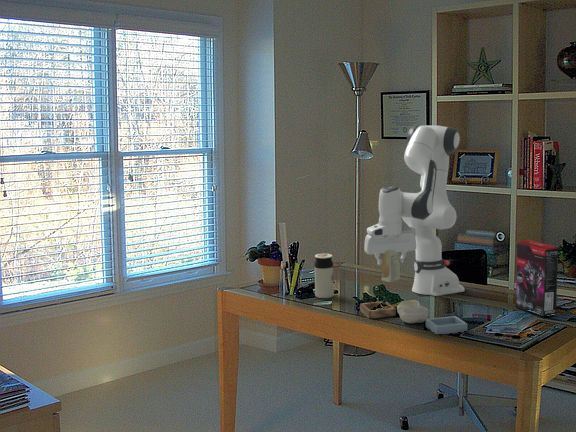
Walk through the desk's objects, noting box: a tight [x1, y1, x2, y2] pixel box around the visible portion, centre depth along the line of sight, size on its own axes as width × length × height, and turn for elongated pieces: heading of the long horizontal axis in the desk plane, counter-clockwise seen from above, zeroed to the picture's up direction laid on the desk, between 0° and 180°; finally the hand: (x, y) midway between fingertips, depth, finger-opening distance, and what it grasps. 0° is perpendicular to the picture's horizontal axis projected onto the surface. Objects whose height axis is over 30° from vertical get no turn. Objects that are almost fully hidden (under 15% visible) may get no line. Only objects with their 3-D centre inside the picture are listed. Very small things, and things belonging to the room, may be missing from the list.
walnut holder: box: [359, 301, 397, 319], centre depth 312 cm, size 11×11×3 cm
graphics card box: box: [514, 239, 559, 316], centre depth 306 cm, size 17×7×27 cm, turn 23°
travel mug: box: [313, 253, 335, 299], centre depth 338 cm, size 8×8×18 cm
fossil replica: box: [396, 299, 430, 324], centre depth 300 cm, size 12×8×10 cm
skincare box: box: [380, 250, 401, 283], centre depth 304 cm, size 6×4×12 cm
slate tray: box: [425, 315, 468, 336], centre depth 290 cm, size 12×10×3 cm
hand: (390, 263), depth 304 cm, fingers closed on skincare box, 7 cm apart
